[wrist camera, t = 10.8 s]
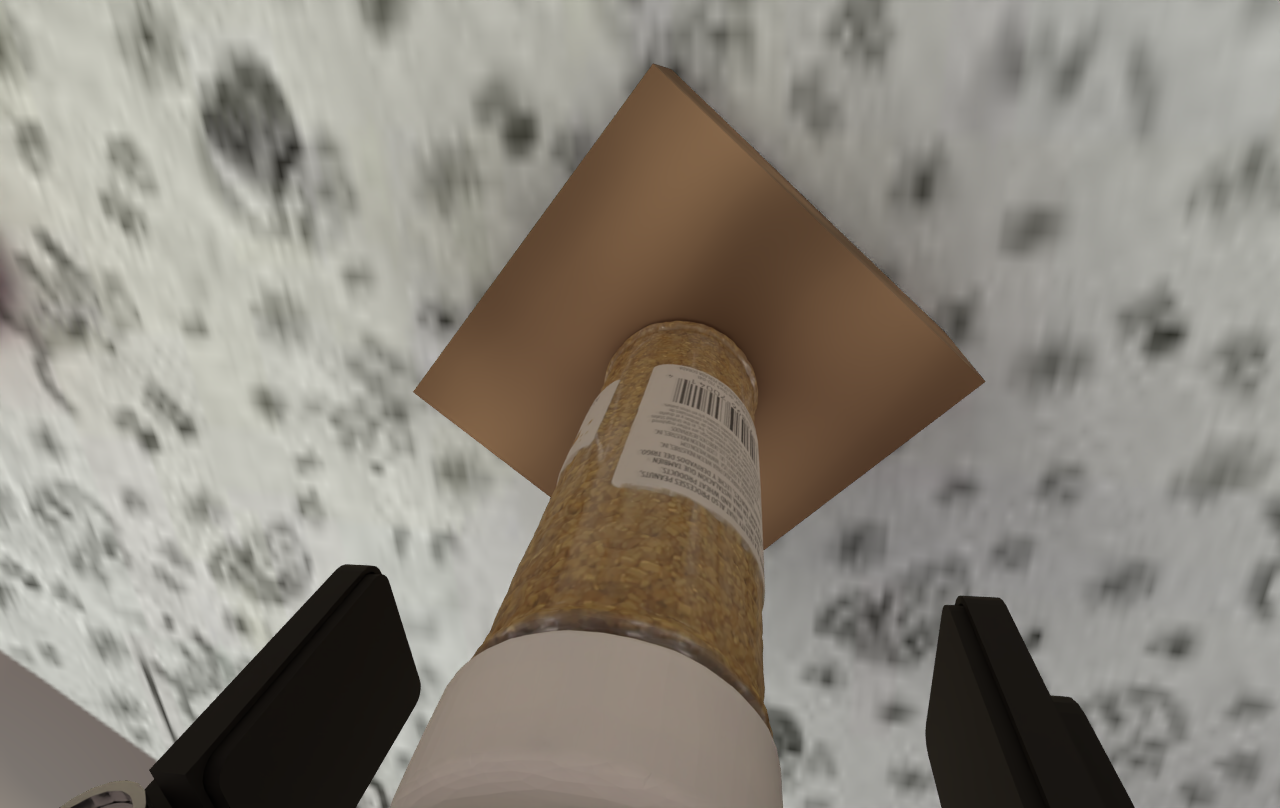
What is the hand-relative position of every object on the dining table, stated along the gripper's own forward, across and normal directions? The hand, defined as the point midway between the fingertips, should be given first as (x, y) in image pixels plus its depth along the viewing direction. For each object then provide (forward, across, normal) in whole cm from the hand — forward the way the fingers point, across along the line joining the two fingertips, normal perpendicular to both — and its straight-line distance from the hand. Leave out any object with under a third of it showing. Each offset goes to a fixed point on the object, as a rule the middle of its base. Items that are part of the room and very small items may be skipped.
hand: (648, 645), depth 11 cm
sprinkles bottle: (+10, 0, -1) cm, 10 cm away
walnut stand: (+13, +1, -1) cm, 13 cm away
